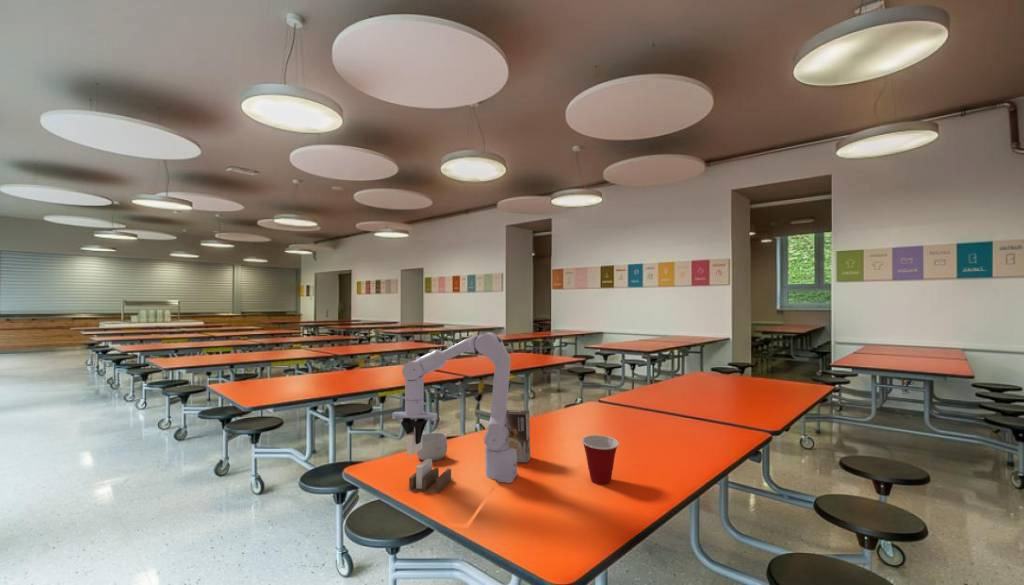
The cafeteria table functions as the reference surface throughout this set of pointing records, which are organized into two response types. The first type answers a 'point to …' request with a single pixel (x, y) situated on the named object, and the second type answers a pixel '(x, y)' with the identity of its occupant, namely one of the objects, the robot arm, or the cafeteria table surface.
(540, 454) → the cafeteria table surface
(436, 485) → the rack
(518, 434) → the coffee box
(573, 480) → the cafeteria table surface
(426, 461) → the racked plate
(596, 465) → the plastic cup
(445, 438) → the teacup
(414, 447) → the white upright slab
